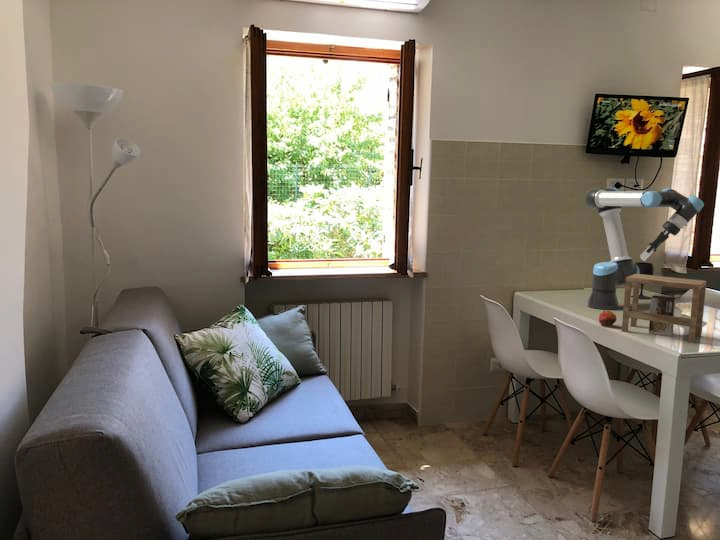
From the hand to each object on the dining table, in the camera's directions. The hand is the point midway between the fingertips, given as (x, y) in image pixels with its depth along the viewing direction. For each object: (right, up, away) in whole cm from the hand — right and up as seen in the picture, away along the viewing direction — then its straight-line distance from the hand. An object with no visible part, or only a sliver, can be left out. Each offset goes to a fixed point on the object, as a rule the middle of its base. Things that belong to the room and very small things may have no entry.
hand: (642, 258), depth 280 cm
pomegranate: (-24, -31, -17) cm, 43 cm away
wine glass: (+24, -22, +51) cm, 61 cm away
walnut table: (-6, -33, -30) cm, 45 cm away
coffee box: (-7, -33, -30) cm, 45 cm away
